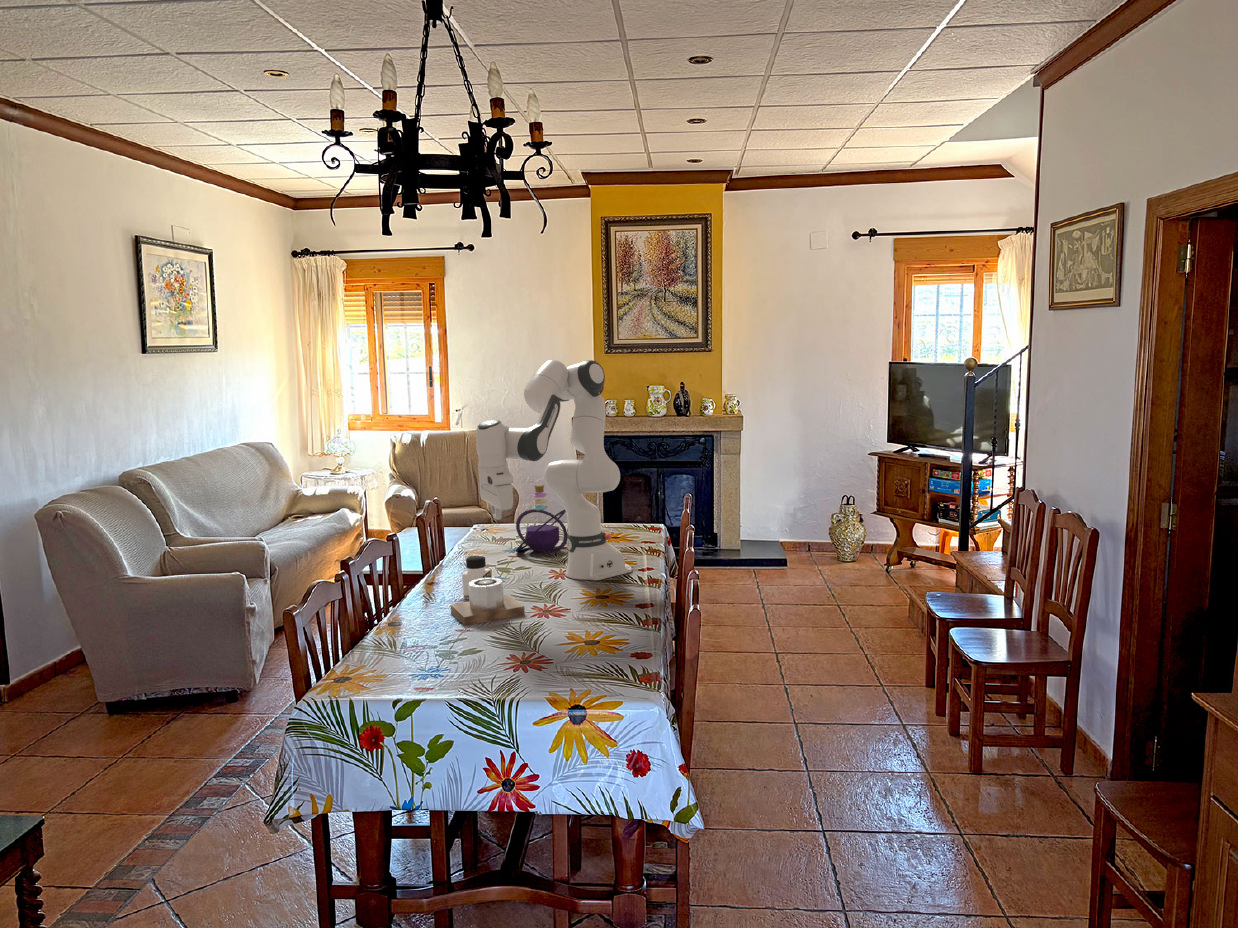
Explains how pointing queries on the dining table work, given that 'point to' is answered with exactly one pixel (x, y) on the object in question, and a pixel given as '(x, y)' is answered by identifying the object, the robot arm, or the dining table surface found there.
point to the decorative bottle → (542, 528)
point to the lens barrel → (486, 594)
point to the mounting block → (486, 611)
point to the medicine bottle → (474, 571)
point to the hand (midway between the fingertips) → (497, 518)
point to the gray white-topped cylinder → (485, 582)
